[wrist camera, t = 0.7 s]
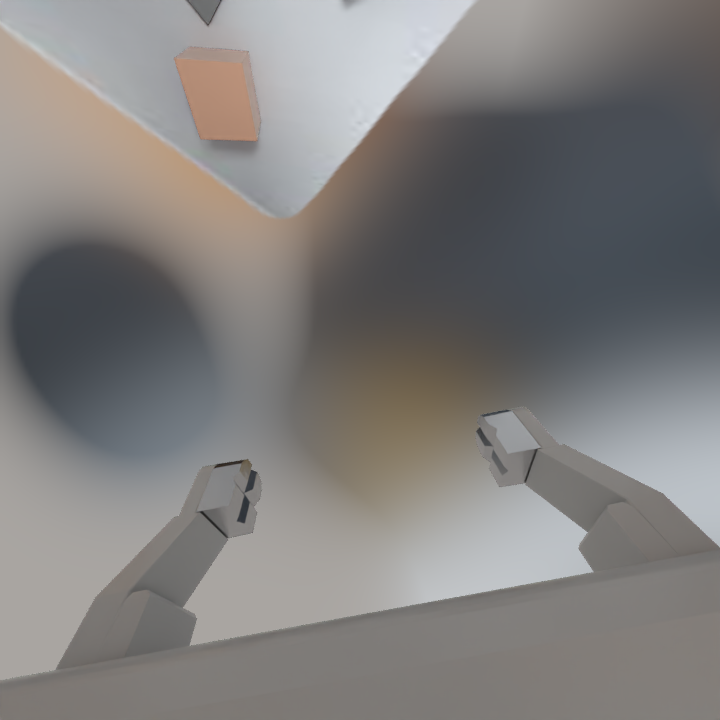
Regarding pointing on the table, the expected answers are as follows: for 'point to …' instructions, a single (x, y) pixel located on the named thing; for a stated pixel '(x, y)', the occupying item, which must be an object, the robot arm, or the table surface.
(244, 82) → the tan square arch
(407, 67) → the table surface
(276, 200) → the table surface
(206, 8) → the slate mat
